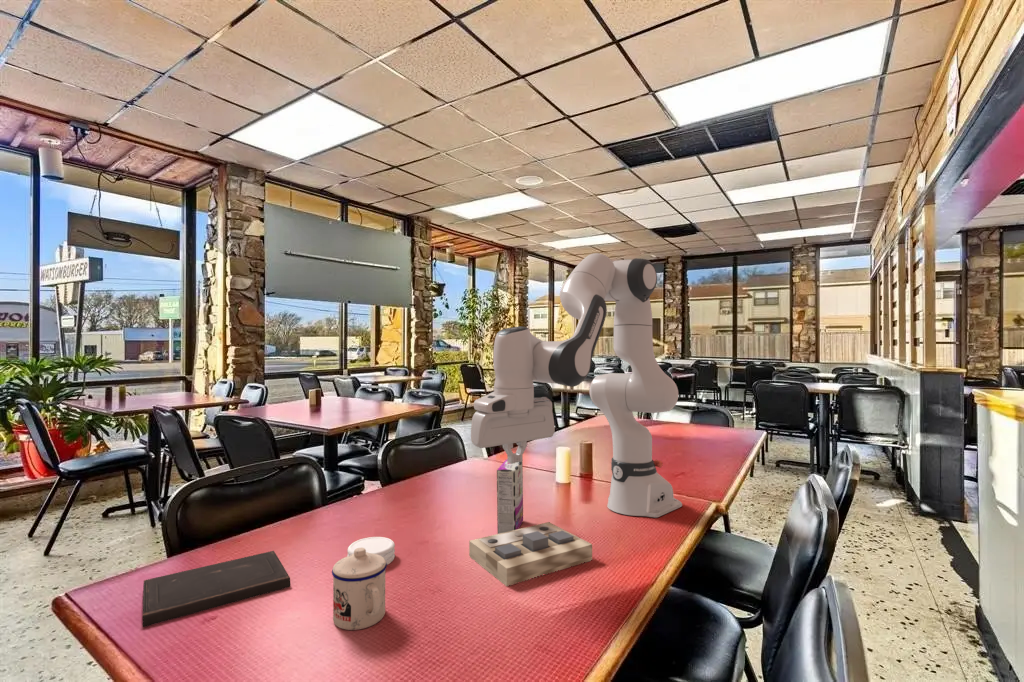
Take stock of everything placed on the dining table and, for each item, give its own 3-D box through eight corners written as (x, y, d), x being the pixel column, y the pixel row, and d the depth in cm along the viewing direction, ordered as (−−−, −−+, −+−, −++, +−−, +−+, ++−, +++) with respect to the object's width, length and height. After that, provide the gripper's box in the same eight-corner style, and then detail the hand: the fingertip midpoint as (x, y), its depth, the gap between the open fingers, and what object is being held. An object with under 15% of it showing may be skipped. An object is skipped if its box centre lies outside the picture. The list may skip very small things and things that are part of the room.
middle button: (537, 544, 109) (537, 531, 109) (548, 550, 105) (548, 537, 105) (522, 548, 107) (522, 534, 107) (533, 555, 103) (533, 541, 103)
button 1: (511, 557, 105) (511, 543, 105) (521, 564, 102) (521, 549, 102) (495, 561, 103) (495, 547, 103) (504, 568, 100) (504, 554, 100)
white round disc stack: (403, 554, 110) (403, 539, 110) (377, 574, 101) (377, 557, 101) (365, 548, 113) (366, 533, 113) (337, 567, 104) (337, 550, 104)
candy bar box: (505, 519, 132) (505, 458, 132) (523, 520, 131) (523, 459, 131) (495, 535, 121) (496, 468, 121) (515, 536, 120) (515, 469, 120)
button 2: (562, 543, 113) (562, 530, 113) (573, 549, 109) (573, 536, 109) (548, 547, 110) (548, 534, 110) (559, 553, 107) (559, 539, 107)
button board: (548, 536, 120) (548, 520, 120) (592, 560, 107) (592, 542, 107) (469, 556, 109) (469, 539, 109) (506, 586, 95) (506, 566, 95)
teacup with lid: (323, 615, 85) (324, 548, 85) (373, 597, 91) (373, 535, 91) (350, 647, 76) (351, 572, 76) (403, 625, 82) (404, 556, 82)
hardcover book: (143, 592, 94) (143, 580, 94) (273, 560, 108) (273, 550, 108) (142, 630, 81) (142, 617, 81) (290, 589, 95) (290, 578, 95)
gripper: (543, 394, 116) (544, 452, 116) (466, 402, 105) (468, 466, 105) (559, 397, 111) (560, 458, 111) (481, 405, 100) (482, 473, 100)
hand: (515, 462), depth 108 cm, fingers closed
